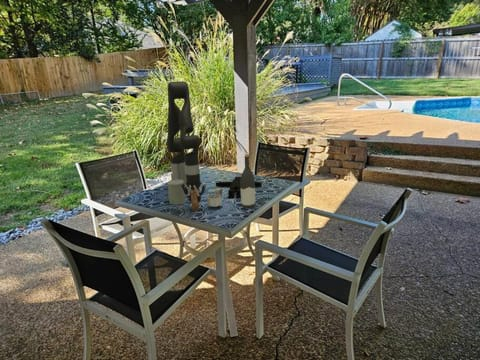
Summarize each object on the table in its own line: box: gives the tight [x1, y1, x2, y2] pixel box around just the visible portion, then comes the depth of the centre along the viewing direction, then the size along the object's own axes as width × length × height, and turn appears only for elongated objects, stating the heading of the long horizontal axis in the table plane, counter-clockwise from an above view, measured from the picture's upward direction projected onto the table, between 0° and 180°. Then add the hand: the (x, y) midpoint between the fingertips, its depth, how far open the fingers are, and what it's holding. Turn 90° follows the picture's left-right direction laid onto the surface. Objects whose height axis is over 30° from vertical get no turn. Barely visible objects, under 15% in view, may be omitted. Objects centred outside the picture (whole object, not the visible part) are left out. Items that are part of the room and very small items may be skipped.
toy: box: [215, 176, 263, 199], centre depth 204 cm, size 30×5×30 cm
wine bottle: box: [240, 153, 256, 209], centre depth 175 cm, size 8×8×30 cm
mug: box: [206, 187, 223, 208], centre depth 180 cm, size 8×13×8 cm, turn 167°
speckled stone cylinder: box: [167, 179, 187, 206], centre depth 187 cm, size 10×10×12 cm
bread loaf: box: [190, 190, 200, 211], centre depth 175 cm, size 4×4×12 cm
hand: (195, 201), depth 176 cm, fingers open, 4 cm apart
